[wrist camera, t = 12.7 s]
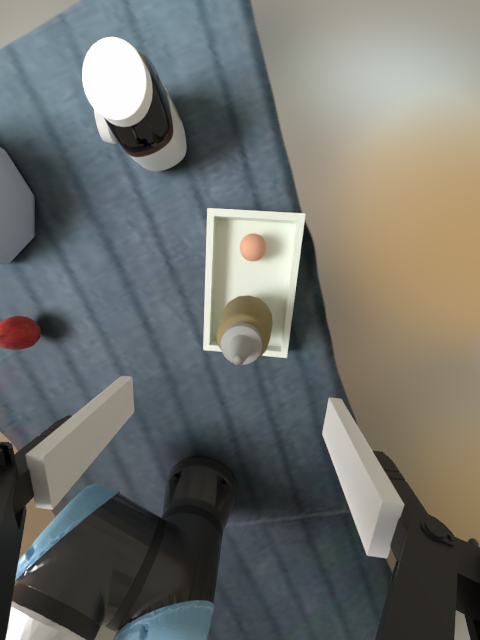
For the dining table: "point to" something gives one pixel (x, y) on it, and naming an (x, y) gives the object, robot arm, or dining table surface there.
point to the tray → (252, 269)
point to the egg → (253, 247)
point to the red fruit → (18, 333)
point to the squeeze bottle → (244, 329)
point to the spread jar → (133, 104)
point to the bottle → (14, 210)
